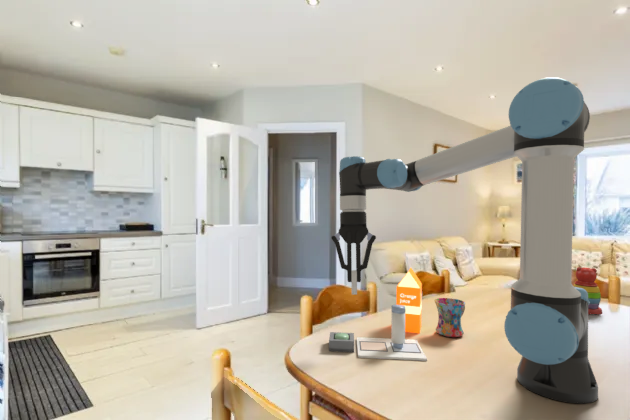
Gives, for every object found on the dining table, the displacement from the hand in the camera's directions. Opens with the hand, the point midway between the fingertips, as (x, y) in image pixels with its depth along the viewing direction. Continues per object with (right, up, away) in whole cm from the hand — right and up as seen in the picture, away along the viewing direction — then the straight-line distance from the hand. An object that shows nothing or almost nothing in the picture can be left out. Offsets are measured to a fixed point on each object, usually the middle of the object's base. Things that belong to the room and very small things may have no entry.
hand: (354, 293), depth 102 cm
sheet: (+10, -16, -1) cm, 19 cm away
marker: (+12, -15, 0) cm, 20 cm away
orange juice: (+21, -16, +19) cm, 32 cm away
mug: (+33, -16, +13) cm, 39 cm away
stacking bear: (+98, -17, +42) cm, 108 cm away
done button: (-4, -14, +1) cm, 15 cm away
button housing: (-4, -16, +1) cm, 16 cm away
